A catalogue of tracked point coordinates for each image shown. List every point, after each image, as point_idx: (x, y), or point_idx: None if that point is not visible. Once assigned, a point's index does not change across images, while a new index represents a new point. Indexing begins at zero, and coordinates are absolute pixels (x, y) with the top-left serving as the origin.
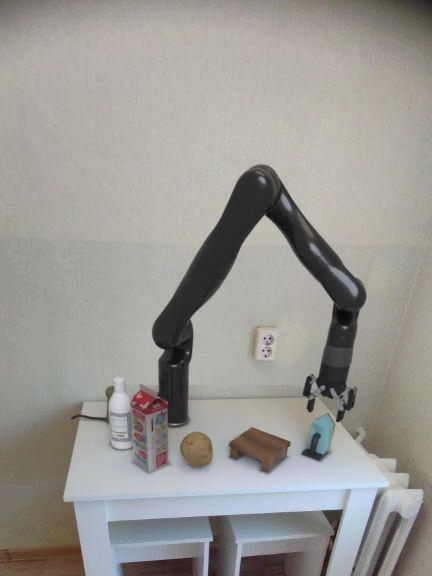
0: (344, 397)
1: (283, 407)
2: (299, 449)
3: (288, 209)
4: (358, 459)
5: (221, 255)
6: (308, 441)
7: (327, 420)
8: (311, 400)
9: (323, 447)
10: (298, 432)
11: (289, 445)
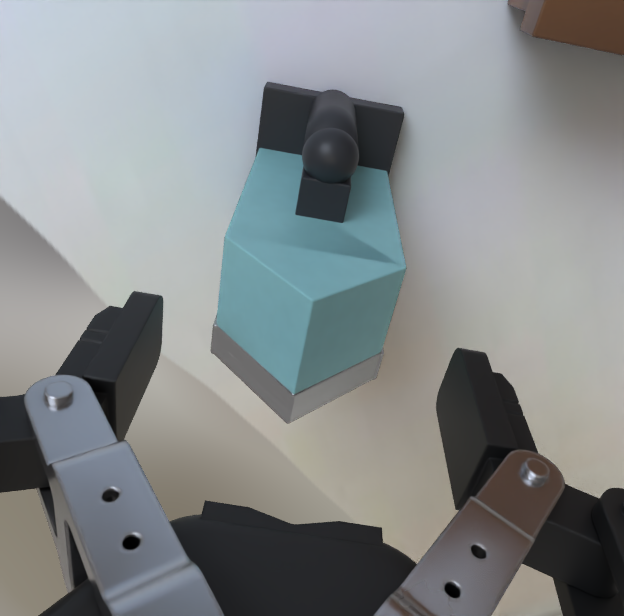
0: (67, 586)
1: None
2: (433, 164)
3: None
4: (67, 231)
5: None
6: (387, 191)
7: (264, 321)
8: (498, 460)
9: (263, 167)
10: None
11: (528, 13)
